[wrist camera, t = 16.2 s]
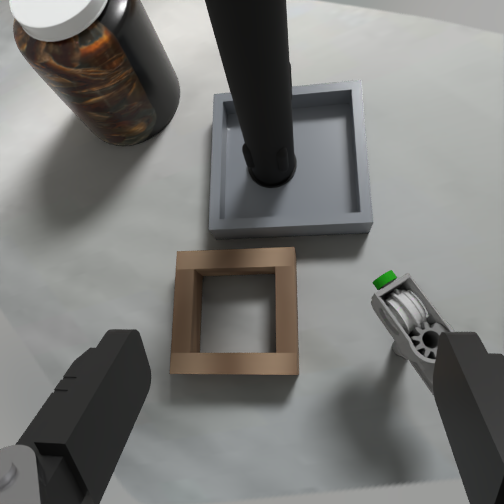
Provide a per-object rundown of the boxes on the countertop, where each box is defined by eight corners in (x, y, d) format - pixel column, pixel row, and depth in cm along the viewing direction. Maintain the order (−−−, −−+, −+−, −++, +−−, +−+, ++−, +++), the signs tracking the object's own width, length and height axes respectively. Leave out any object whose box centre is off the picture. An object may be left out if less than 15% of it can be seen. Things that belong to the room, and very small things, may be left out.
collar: (296, 255, 39) (294, 246, 36) (299, 374, 36) (297, 374, 33) (186, 259, 41) (176, 251, 38) (180, 373, 38) (169, 373, 35)
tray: (358, 99, 43) (361, 79, 40) (369, 232, 39) (373, 222, 36) (220, 111, 45) (213, 94, 42) (216, 239, 41) (208, 229, 38)
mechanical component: (424, 409, 34) (466, 426, 24) (353, 306, 37) (365, 284, 27) (454, 391, 34) (508, 400, 24) (380, 289, 37) (402, 261, 27)
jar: (192, 124, 45) (135, 12, 31) (96, 160, 46) (-4, 65, 31) (168, 46, 49) (107, -88, 34) (79, 79, 49) (-17, -38, 35)
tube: (189, -36, 16) (313, -93, 16) (145, -119, 18) (259, -171, 18) (258, 200, 40) (309, 177, 40) (237, 155, 42) (285, 133, 42)
